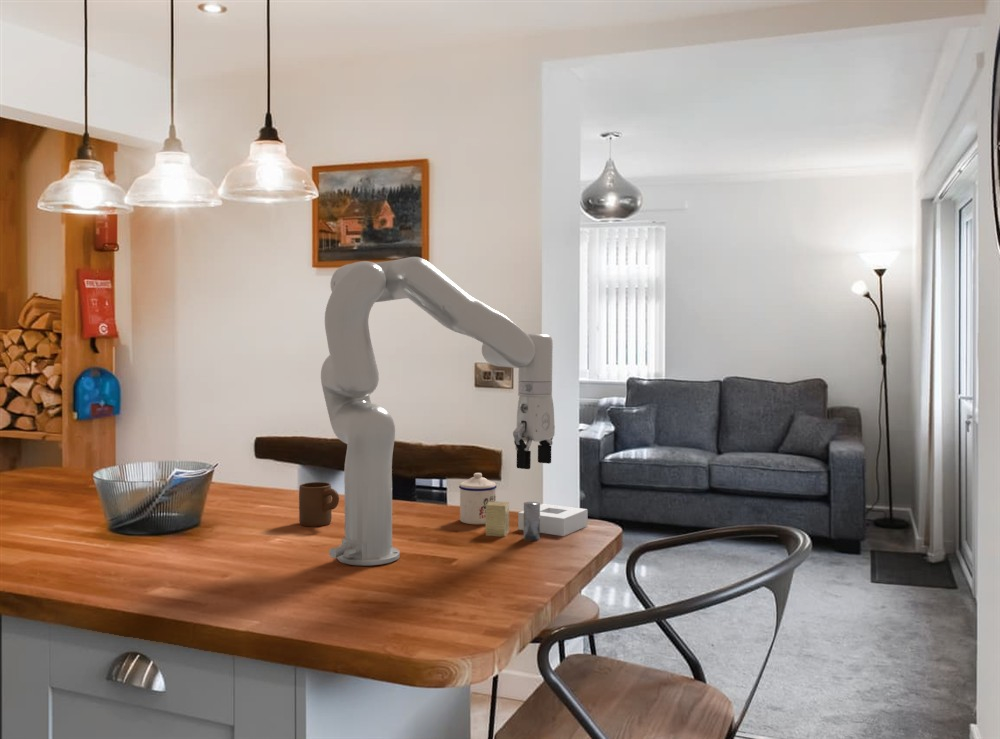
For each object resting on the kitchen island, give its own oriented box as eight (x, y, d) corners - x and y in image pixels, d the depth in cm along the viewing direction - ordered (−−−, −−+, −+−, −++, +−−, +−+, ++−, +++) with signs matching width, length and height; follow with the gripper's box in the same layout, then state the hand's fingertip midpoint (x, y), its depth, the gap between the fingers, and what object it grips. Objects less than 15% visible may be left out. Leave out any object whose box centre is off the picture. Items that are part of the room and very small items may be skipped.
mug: (350, 525, 205) (350, 486, 205) (324, 531, 200) (324, 491, 199) (318, 518, 213) (317, 480, 213) (292, 524, 207) (292, 485, 207)
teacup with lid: (484, 526, 205) (484, 477, 204) (451, 522, 209) (451, 474, 209) (508, 517, 215) (509, 470, 215) (477, 513, 220) (477, 467, 219)
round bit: (534, 541, 191) (534, 505, 190) (520, 539, 193) (520, 503, 192) (542, 538, 194) (542, 502, 193) (528, 536, 196) (528, 501, 195)
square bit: (505, 536, 195) (505, 505, 195) (485, 535, 196) (485, 505, 196) (509, 532, 200) (509, 501, 199) (489, 531, 201) (490, 501, 200)
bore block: (564, 536, 196) (564, 518, 196) (518, 529, 202) (518, 512, 202) (587, 525, 206) (587, 509, 206) (543, 519, 212) (543, 503, 212)
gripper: (531, 392, 184) (530, 472, 184) (567, 388, 198) (566, 462, 199) (500, 390, 187) (499, 469, 188) (538, 386, 202) (537, 459, 203)
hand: (534, 465), depth 194 cm, fingers open, 9 cm apart
